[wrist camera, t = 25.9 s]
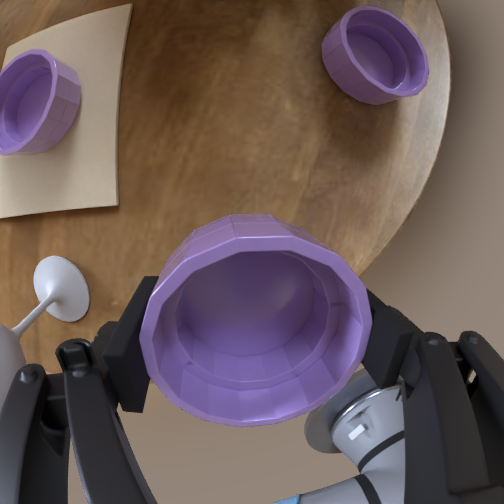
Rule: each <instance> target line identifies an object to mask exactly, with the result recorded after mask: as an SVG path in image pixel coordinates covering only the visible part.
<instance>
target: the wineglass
mask: <svg viewBox="0 0 504 504" xmlns="http://www.w3.org/2000/svg"><path fill="white" fill-rule="evenodd" d="M34 287H35V291H36V294H37V296H38V299H39V301H40V302H41V304H39V305H38V306H37V307H36V308H35V309H34V310H33V311H32V312H31V313H30V314H29V315H28V316H27V317H26V318H25V319H24V320H23V321H22V322H21V323H20V324H19V325H18V326H16V327H15V328H13V329H8V328H7V327H5V326H3V325H1V324H0V412H1V410H2V407H3V404H4V401H5V399H6V396H7V394H8V391H9V389H10V386H11V384H12V381H13V379H14V377H15V374H16V373H17V371H18V370H19V369H20V368H22V367H23V366H25V365H27V364H26V360H25V357H24V354H23V351H22V348H21V345H20V343H19V342H20V338H21V336H22V334H23V332H24V331H25V330H26V329H27V328H28V327H29V326H30V325H31V324H32V323H33V322H34V321H35V320H36V318H37V317H38V316H39V315H40V314H41V313H42V312H43V311H44V310H45V309H46V310H47V311H48V312H49V313H50V314H51V315H53V316H54V317H55V318H58V319H60V320H62V321H68V322H70V321H76V320H78V319H80V318H81V317H82V316H84V315H85V313H86V311H87V309H88V307H89V302H90V293H89V289H88V285H87V283H86V280H85V278H84V276H83V275H82V273H81V272H80V270H79V269H78V268H77V267H76V266H75V265H74V264H73V263H71V262H70V261H69V260H67V259H65V258H62V257H60V256H50V257H47V258H45V259H44V260H42V261H41V262H40V263H39V264H38V266H37V268H36V270H35V274H34Z"/></svg>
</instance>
